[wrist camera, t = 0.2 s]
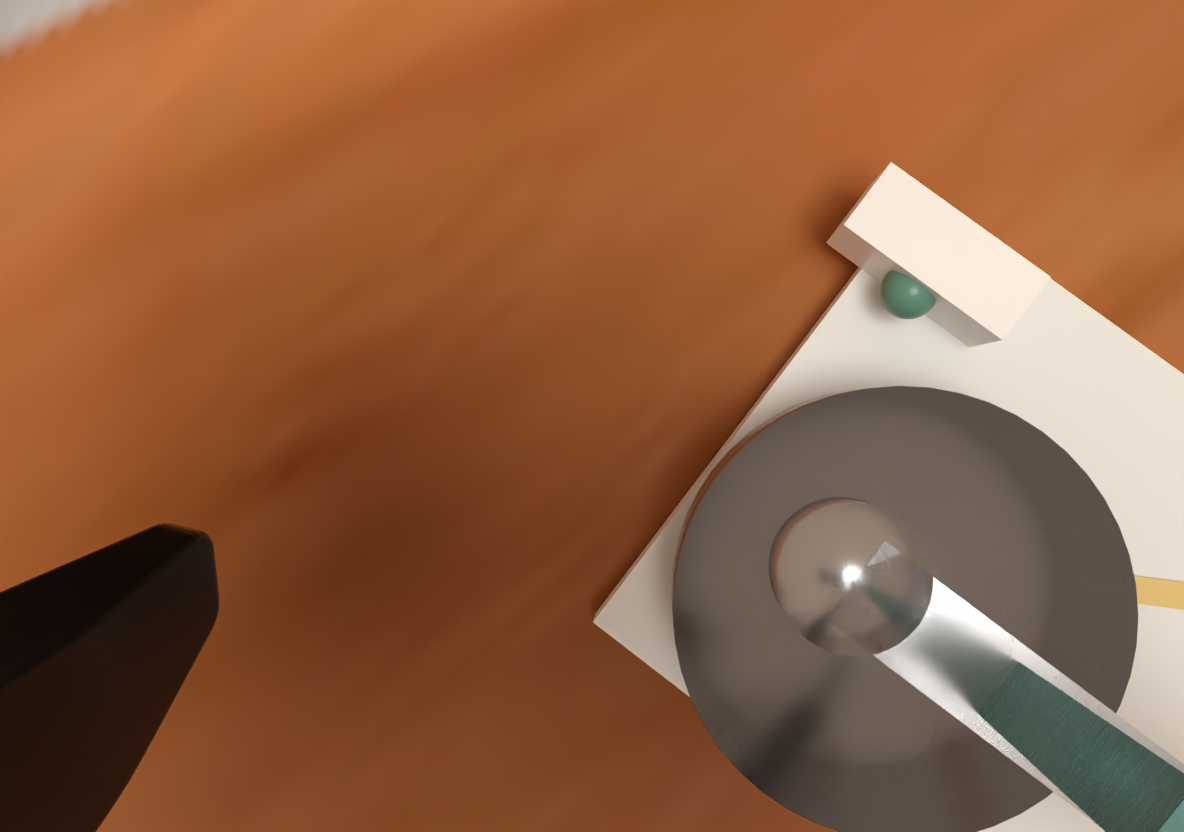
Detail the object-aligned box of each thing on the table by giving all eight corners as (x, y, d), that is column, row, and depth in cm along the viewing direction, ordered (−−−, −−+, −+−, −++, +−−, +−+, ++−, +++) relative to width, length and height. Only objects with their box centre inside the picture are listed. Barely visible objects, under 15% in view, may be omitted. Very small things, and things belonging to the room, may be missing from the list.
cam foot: (590, 630, 21) (540, 792, 12) (835, 307, 20) (976, 221, 11) (1154, 1065, 20) (1563, 1597, 11) (1421, 736, 19) (2070, 1008, 10)
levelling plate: (562, 588, 22) (548, 614, 19) (876, 172, 22) (911, 134, 19) (1141, 1032, 21) (1219, 1133, 18) (1484, 610, 21) (1622, 643, 18)
